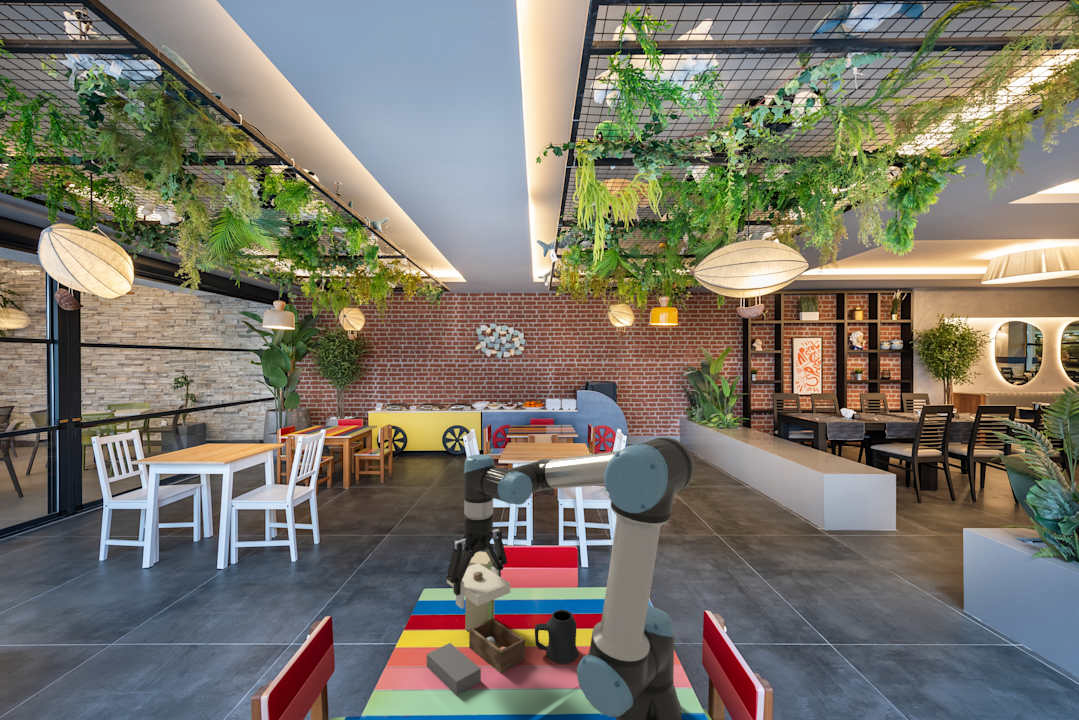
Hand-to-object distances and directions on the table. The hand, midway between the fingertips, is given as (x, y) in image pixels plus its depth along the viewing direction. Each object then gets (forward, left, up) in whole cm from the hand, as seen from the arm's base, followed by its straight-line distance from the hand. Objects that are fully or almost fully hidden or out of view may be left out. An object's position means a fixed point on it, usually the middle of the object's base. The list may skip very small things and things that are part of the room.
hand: (477, 599), depth 124 cm
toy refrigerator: (+13, -11, -17) cm, 24 cm away
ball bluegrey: (+2, -6, -16) cm, 17 cm away
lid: (0, 0, +3) cm, 3 cm away
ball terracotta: (-4, -6, -16) cm, 18 cm away
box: (-1, -6, -17) cm, 18 cm away
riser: (0, +7, -17) cm, 19 cm away
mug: (-12, -18, -17) cm, 27 cm away
